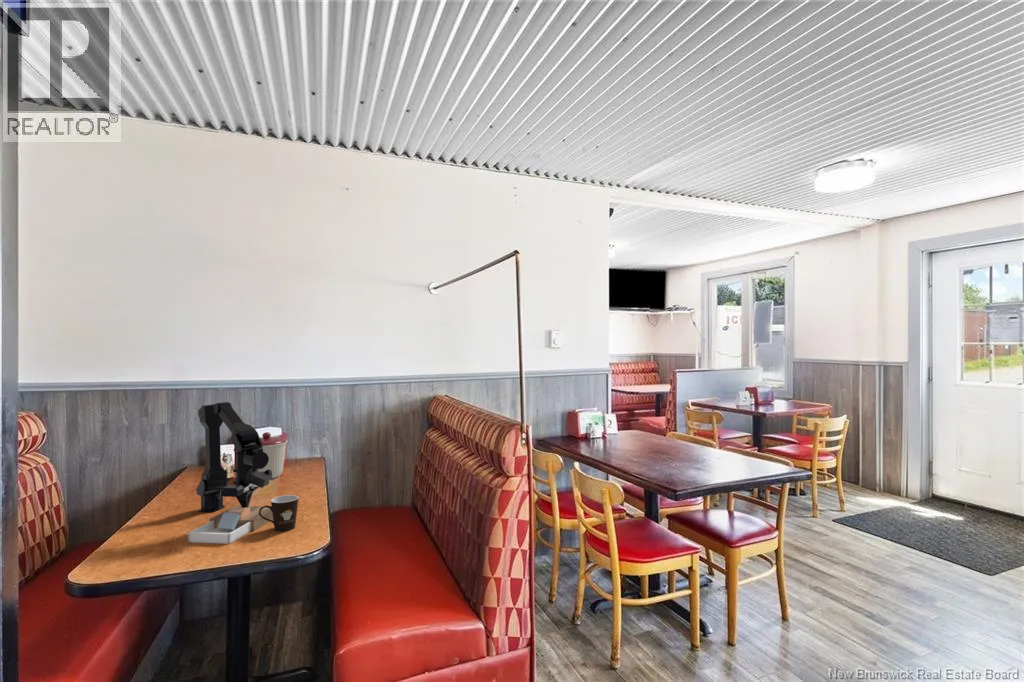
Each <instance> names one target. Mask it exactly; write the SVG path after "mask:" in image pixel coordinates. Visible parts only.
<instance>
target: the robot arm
mask: <svg viewBox="0 0 1024 682" xmlns="http://www.w3.org/2000/svg"><path fill="white" fill-rule="evenodd" d="M197 415H198V418H199V423H200V424H201V426H203V428H204V435H205V440H204V441H205V442H204V443H205V468H204V470H203V472H202V473H201V477H200V478H201V479H200V481H199V483H198V485H197V487H196V489H195V490H196V495H197V496H200V508H199V509H198V510H197V511H198V512H204V513H205V512H206V513H209V512H210V513H214V512H217V511H218V510H221V509H222V508H225V504H224V497H226V498H229V497H231V498H232V497H234V498H236V499H237V501H238V503H239V504H240V506H242V507H244V508H248V506H250V503H251V501H252V500H251V499H252V496H253V494H254V492H255V491H257V490H258V489H259V488H262V489H263V488H264V487H266V486H269V484H270V482H271V480H273V479H272V471H271V470H269V469H268V470H266V471H264V472H263V471H262V472H259V471H258V469H262V468H264V467H265V466H266V465H267V464H268V461H269V457H268V455H267V454H266V453H265V452H263V446H262V441H261V439H260V438H261V437H260V435H259V433H258V431H257V430H256V429H255V427H254V426H252V425H251V424H248V423H245V422H244V421H243V419H242V418H241V417H240V416H239V415H238V413H237V412H236V410H234V408H233V407H232V403H231V402H228V401H223V402H222V401H221V402H216V403H213V404H204V405H201V407H200V408H198V412H197ZM223 423H224V424H225V426H226V427H227V429H228V430H229V431H230V433H231V435H230V439H231V442H232V444H233V445H234V448H233V452H235V468H233V470H232V473H235V480H233V484H228V483H229V478H228V471H227V470H226V469H224V468H223V466H222V455H221V449H222V448H221V426H222V425H223ZM255 443H256V444H255ZM252 444H253V445H252ZM246 445H247V446H246Z"/></svg>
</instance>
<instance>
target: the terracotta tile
mask: <svg viewBox="0 0 1024 682" xmlns="http://www.w3.org/2000/svg"><path fill="white" fill-rule="evenodd" d="M227 513H238V514H239V515H241V516H240V518H243V517H244V516H246V515H248V514H250V508H244V507H236V508H234V509H232V510H230V511H228V512H227Z"/></svg>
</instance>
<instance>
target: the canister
mask: <svg viewBox="0 0 1024 682" xmlns="http://www.w3.org/2000/svg"><path fill="white" fill-rule="evenodd" d="M260 439H261V441H262V446H263V452H265V453H266V454H267V455H268V457H269V461H268V464H267V465H266V466H265V467H264V468H262V469H258V471H259V472H262V471H263V472H264V471H266V470H268V469H269V470H271V471H272V479H271V480H273V479H276V478H278V477H280V476H281V475H282V474H283V471H284V464H285V457H286V456H285V455H286V449H287V448H286V447H287V444H288V439H285V438H284V437H280V436H271V433H270V432H268V431H267V432H263V433H262V436H261V437H260ZM255 444H256V443H255ZM252 445H253V444H252ZM246 446H247V445H246Z"/></svg>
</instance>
